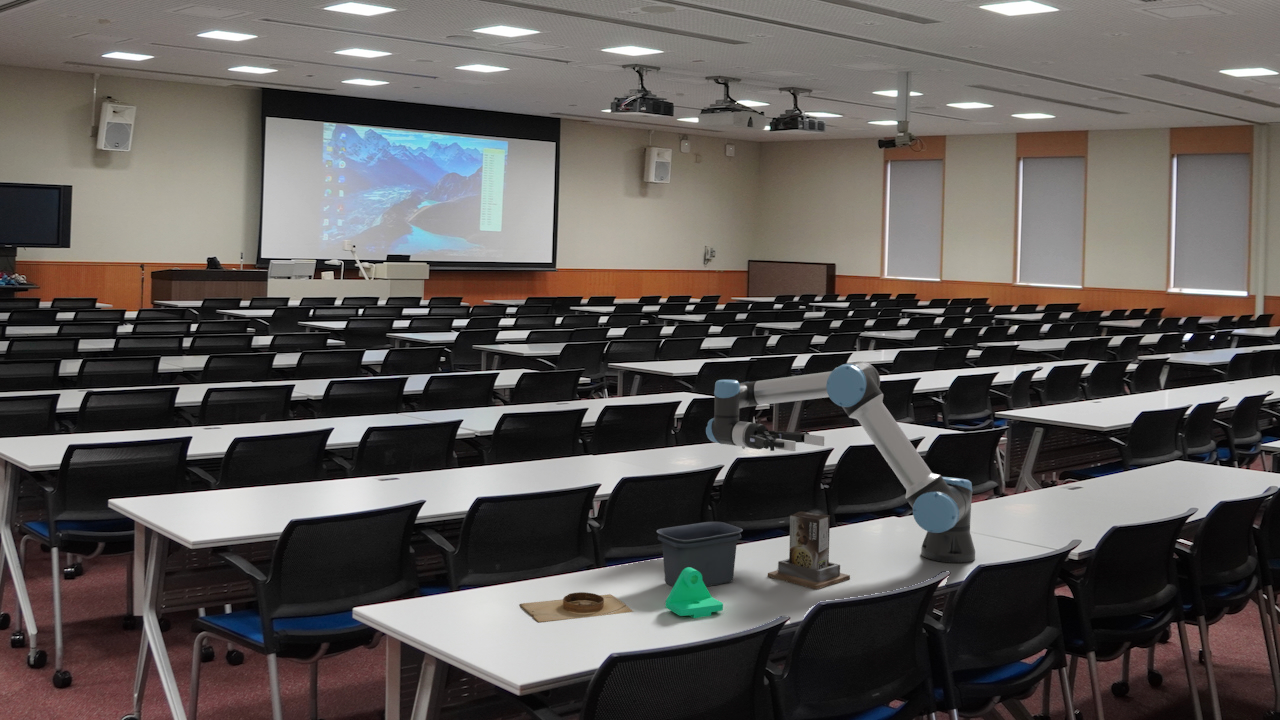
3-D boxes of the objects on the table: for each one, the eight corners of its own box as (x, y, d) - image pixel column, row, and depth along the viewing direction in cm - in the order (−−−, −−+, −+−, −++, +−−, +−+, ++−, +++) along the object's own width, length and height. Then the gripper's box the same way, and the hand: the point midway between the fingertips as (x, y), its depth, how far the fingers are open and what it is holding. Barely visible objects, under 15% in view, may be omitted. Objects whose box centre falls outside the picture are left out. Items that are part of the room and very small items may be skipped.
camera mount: (680, 620, 273) (681, 578, 272) (665, 611, 280) (666, 569, 279) (724, 614, 278) (725, 572, 277) (708, 605, 285) (709, 564, 284)
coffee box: (829, 574, 311) (831, 515, 309) (818, 579, 305) (820, 519, 304) (799, 568, 316) (801, 510, 314) (787, 573, 311) (789, 514, 309)
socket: (801, 566, 322) (802, 552, 321) (849, 578, 310) (850, 564, 310) (767, 576, 311) (768, 561, 311) (815, 589, 300) (816, 574, 299)
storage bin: (679, 595, 292) (680, 540, 291) (646, 580, 305) (647, 527, 304) (746, 584, 304) (748, 530, 302) (711, 570, 317) (712, 518, 315)
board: (612, 596, 292) (612, 584, 292) (637, 614, 279) (637, 601, 278) (518, 607, 282) (518, 594, 282) (538, 626, 268) (539, 612, 268)
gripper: (777, 443, 354) (834, 452, 339) (723, 452, 336) (781, 461, 321) (777, 419, 353) (835, 426, 338) (724, 426, 335) (782, 435, 320)
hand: (809, 443), depth 329 cm, fingers open, 13 cm apart
